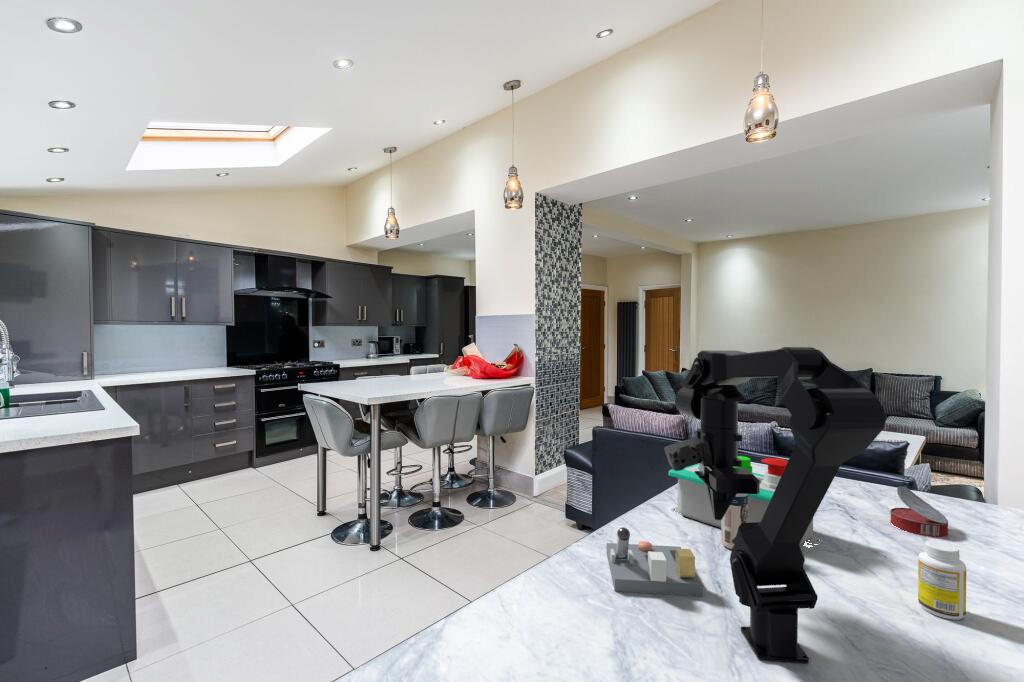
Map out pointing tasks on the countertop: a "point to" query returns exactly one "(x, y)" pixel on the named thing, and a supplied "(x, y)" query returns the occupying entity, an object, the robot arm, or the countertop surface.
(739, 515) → the beer can
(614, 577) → the panel
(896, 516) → the canned food
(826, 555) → the countertop surface
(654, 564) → the white block
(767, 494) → the control panel
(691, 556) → the brushed brass brick
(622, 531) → the toggle lever
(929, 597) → the supplement bottle
